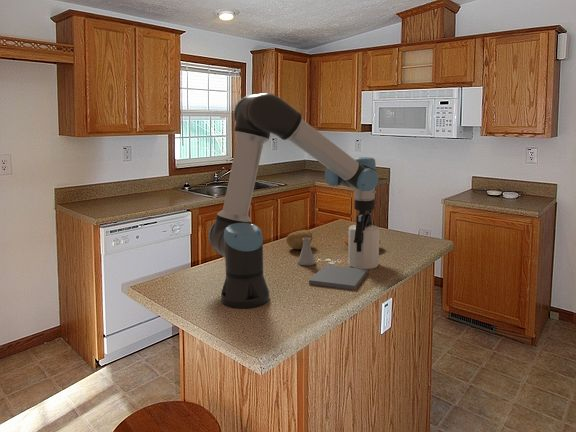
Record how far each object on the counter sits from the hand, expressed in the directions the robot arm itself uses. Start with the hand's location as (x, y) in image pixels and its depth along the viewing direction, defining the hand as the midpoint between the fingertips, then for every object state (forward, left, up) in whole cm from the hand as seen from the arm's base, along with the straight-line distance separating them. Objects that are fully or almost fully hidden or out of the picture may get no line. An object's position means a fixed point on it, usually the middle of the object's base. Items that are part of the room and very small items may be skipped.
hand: (363, 255), depth 185 cm
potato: (+13, +31, -4) cm, 34 cm away
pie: (+22, +6, -4) cm, 23 cm away
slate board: (-19, +4, -4) cm, 20 cm away
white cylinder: (0, 0, -4) cm, 4 cm away
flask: (-6, +21, -4) cm, 22 cm away
